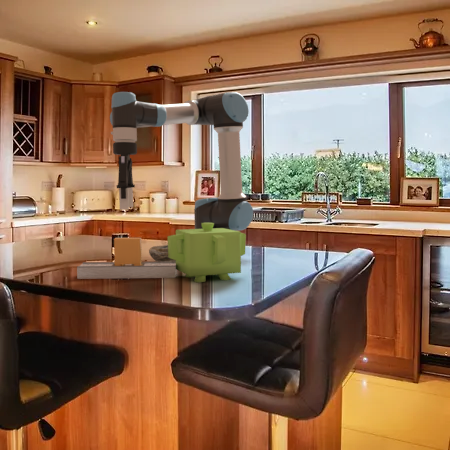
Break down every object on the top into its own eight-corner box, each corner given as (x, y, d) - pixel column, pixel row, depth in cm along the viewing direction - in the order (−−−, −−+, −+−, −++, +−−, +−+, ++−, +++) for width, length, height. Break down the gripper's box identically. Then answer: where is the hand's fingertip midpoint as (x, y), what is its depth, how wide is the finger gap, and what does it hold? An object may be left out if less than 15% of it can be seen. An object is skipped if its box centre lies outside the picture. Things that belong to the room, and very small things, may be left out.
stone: (158, 257, 169) (153, 234, 175) (149, 273, 176) (144, 251, 181) (192, 258, 176) (186, 236, 181) (182, 273, 183) (176, 252, 188)
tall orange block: (141, 274, 154) (141, 237, 153) (140, 276, 151) (140, 238, 150) (116, 275, 153) (115, 237, 152) (114, 276, 150) (114, 238, 149)
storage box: (180, 287, 134) (180, 226, 133) (158, 274, 155) (158, 221, 154) (260, 281, 144) (260, 224, 143) (229, 269, 165) (229, 219, 164)
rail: (176, 273, 157) (176, 261, 157) (175, 277, 149) (175, 265, 149) (83, 274, 155) (82, 262, 155) (77, 278, 147) (77, 266, 147)
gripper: (118, 145, 166) (119, 206, 168) (106, 138, 141) (109, 210, 143) (140, 144, 167) (141, 206, 168) (132, 138, 142) (134, 210, 144)
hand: (126, 208), depth 156 cm, fingers open, 13 cm apart
